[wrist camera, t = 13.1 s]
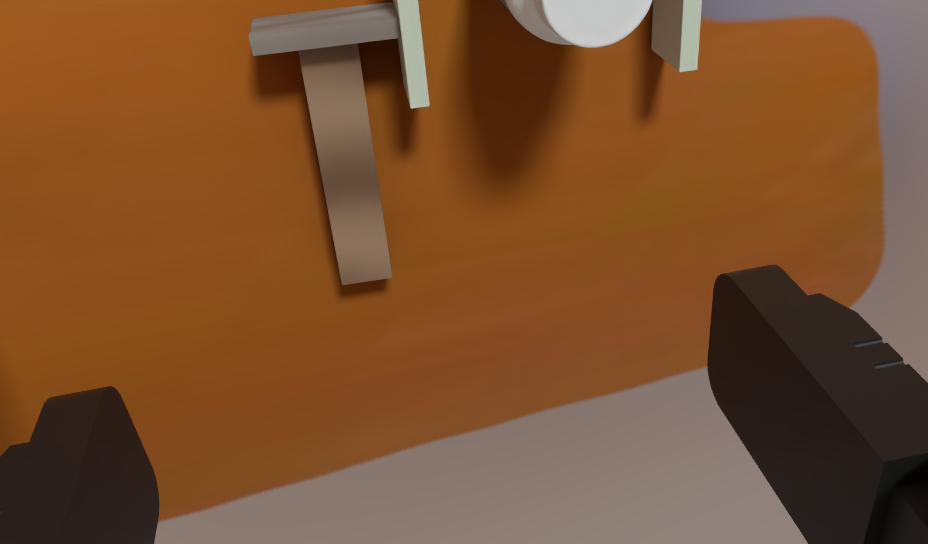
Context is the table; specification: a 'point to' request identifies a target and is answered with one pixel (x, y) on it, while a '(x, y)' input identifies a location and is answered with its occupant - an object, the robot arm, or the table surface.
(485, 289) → the table surface
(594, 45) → the pill bottle
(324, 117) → the bar
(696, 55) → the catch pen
